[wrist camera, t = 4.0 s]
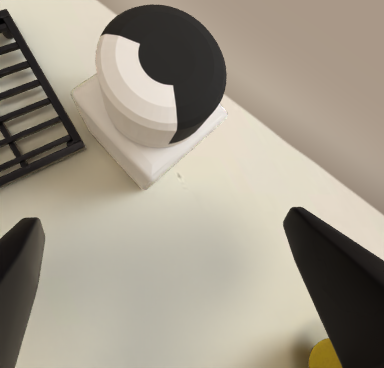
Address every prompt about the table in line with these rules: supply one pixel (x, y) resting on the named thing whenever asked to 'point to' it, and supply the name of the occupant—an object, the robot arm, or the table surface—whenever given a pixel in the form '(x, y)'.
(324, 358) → the lemon
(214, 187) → the table surface
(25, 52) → the wire rack
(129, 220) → the table surface
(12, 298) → the robot arm
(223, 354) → the table surface
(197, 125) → the medicine bottle
